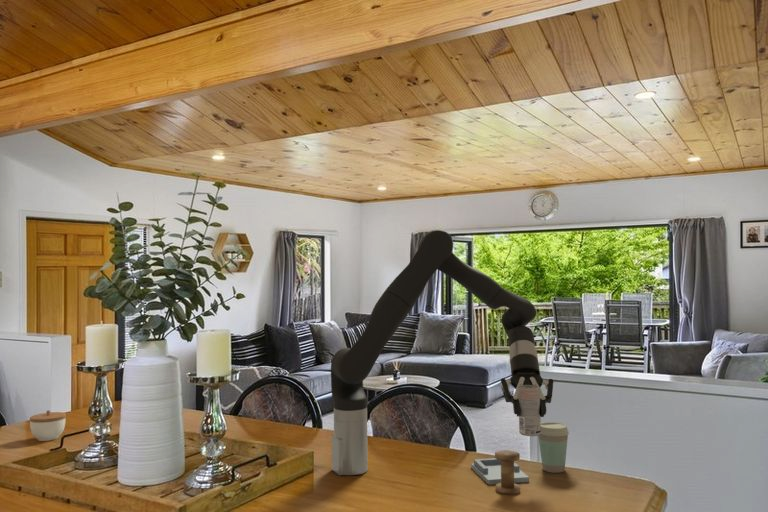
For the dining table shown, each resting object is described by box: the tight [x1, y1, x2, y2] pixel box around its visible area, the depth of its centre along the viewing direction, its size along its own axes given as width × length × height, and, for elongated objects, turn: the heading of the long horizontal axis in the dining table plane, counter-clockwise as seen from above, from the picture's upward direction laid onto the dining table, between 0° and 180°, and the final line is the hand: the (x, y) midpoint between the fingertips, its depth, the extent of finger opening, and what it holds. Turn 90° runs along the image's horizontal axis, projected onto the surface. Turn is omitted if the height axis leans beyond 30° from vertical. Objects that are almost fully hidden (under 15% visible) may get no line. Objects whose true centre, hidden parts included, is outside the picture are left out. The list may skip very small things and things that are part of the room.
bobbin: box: [494, 449, 521, 496], centre depth 150 cm, size 6×6×9 cm
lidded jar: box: [29, 409, 67, 442], centre depth 205 cm, size 11×11×9 cm
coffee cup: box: [538, 421, 570, 474], centre depth 166 cm, size 8×8×12 cm
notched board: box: [470, 457, 530, 486], centre depth 162 cm, size 14×11×2 cm
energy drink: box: [518, 385, 542, 437], centre depth 155 cm, size 5×5×12 cm
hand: (530, 414), depth 154 cm, fingers closed on energy drink, 5 cm apart
